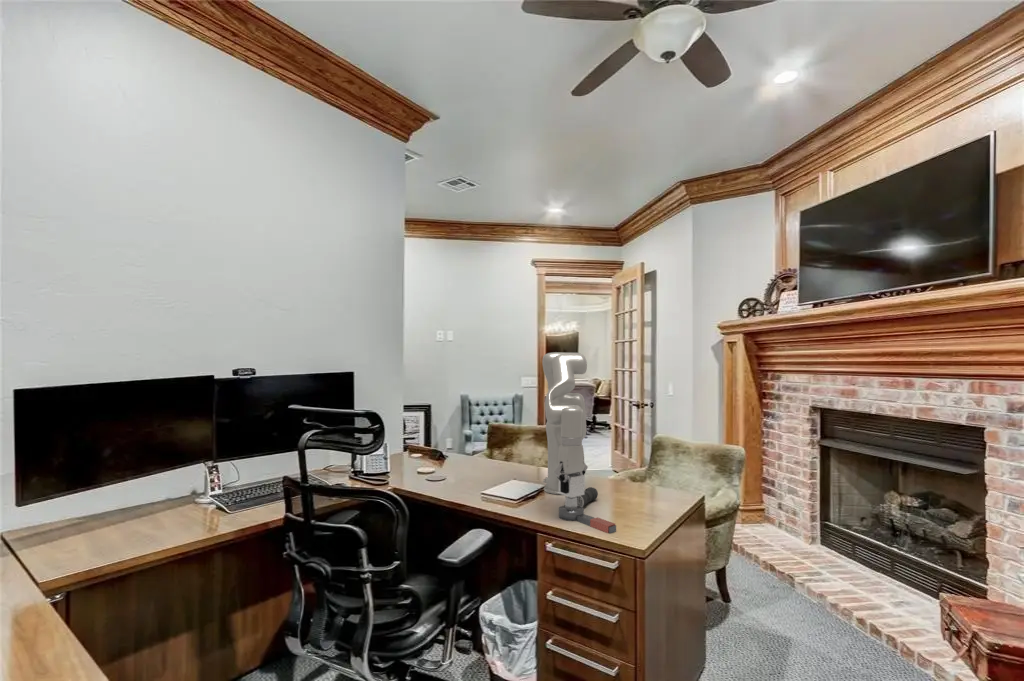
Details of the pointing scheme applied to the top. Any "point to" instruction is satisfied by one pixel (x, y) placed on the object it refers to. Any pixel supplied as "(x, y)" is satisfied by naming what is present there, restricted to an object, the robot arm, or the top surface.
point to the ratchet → (583, 516)
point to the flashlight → (587, 496)
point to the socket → (574, 485)
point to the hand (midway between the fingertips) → (571, 490)
